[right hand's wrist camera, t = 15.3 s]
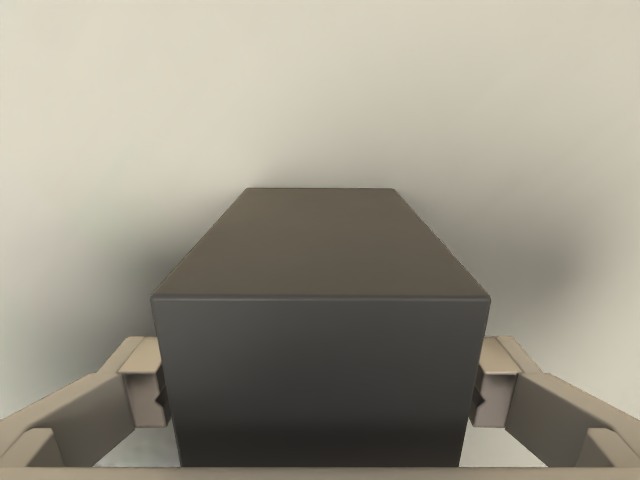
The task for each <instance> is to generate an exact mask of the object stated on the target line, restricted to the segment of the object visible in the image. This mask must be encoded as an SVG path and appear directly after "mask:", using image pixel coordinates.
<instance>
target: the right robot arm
mask: <svg viewBox="0 0 640 480" xmlns="http://www.w3.org/2000/svg"><path fill="white" fill-rule="evenodd" d="M171 417H172V416H171V411H170V405H169V400H168V394H167V389H166V383H165V378H164V372H163V367H162V362H161V356H160V351H159V345H158V340H157V337H156V336H147V337H146V336H130V337H127V338H126V339H125V340H124V341H123V342H122V343H121V345H120V346H119V347H118V348H117V349H116V350H115V352H114V353H113V354H112V355H111V356H110V357H109V359H108V360H107V361H106V362H105V363H104V365H103V366H102V367H101V368H100V369H99V370H98V372H97V373H90V374H88V375H86V376H84V377H82V378H81V379H79V380H77V381H75V382H73V383H71V384H69V385H67V386H65V387H63V388H61V389H60V390H58V391H56V392H54V393H52V394H50V395H48V396H46V397H44V398H42V399H40V400H39V401H37V402H35V403H33V404H31V405H29V406H27V407H25V408H23V409H21V410H19V411H18V412H16V413H14V414H12V415H10V416H8V417H6V418H4V419H2V420H0V480H640V421H639V420H637V419H636V418H634V417H632V416H630V415H628V414H626V413H624V412H622V411H620V410H618V409H617V408H615V407H613V406H611V405H609V404H607V403H605V402H603V401H601V400H599V399H597V398H596V397H594V396H592V395H590V394H588V393H586V392H584V391H582V390H580V389H578V388H577V387H575V386H573V385H571V384H569V383H567V382H565V381H563V380H561V379H559V378H557V377H556V376H554V375H552V374H550V373H543V372H542V370H541V369H540V368H539V367H538V366H537V365H536V363H535V362H534V361H533V360H532V359H531V358H530V356H529V355H528V354H527V353H526V352H525V351H524V349H523V348H522V347H521V346H520V345H519V343H518V342H517V341H516V340H515V339H514V338H513V337H511V336H495V337H484V340H483V345H482V350H481V355H480V360H479V365H478V370H477V375H476V380H475V385H474V390H473V395H472V400H471V406H470V411H469V416H468V417H469V419H470V421H471V423H472V425H473V427H492V428H505V430H506V431H507V432H509V433H510V434H511V435H512V436H513V437H514V438H516V439H517V440H518V441H519V442H520V443H521V444H523V445H524V446H525V447H526V448H527V449H528V450H529V451H531V452H532V453H533V454H534V455H535V456H536V457H538V458H539V459H540V460H541V461H542V462H543V463H544V464H546V465H547V466H548V467H92V466H93V465H94V464H96V463H97V462H98V461H99V460H100V459H101V458H103V457H104V456H105V455H106V454H107V453H108V452H109V451H111V450H112V449H113V448H114V447H115V446H116V445H118V444H119V443H120V442H121V441H122V440H123V439H125V438H126V437H127V436H128V435H129V434H130V433H131V432H133V431H134V430H135V428H147V427H167V425H168V423H169V421H170V419H171Z"/></svg>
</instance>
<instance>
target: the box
mask: <svg viewBox="0 0 640 480" xmlns="http://www.w3.org/2000/svg"><path fill="white" fill-rule="evenodd" d="M150 302H151V307H152V313H153V318H154V324H155V329H156V334H157V340H158V345H159V351H160V356H161V362H162V367H163V372H164V378H165V383H166V389H167V394H168V400H169V405H170V411H171V416H172V421H173V427H174V432H175V438H176V443H177V449H178V454H179V459H180V465H181V467H458V466H459V461H460V456H461V451H462V446H463V441H464V436H465V431H466V426H467V421H468V416H469V411H470V406H471V400H472V395H473V390H474V385H475V380H476V375H477V370H478V365H479V360H480V355H481V350H482V345H483V340H484V334H485V329H486V324H487V319H488V314H489V309H490V304H491V298H490V296H489V295H488V293H487V292H486V291H485V290H484V289H483V288H482V287H481V286H480V284H479V283H478V282H477V281H476V280H475V279H474V278H473V277H472V276H471V274H470V273H469V272H468V271H467V270H466V269H465V268H464V267H463V266H462V264H461V263H460V262H459V261H458V260H457V259H456V258H455V257H454V256H453V254H452V253H451V252H450V251H449V250H448V249H447V248H446V247H445V246H444V244H443V243H442V242H441V241H440V240H439V239H438V238H437V237H436V235H435V234H434V233H433V232H432V231H431V230H430V229H429V228H428V227H427V225H426V224H425V223H424V222H423V221H422V220H421V219H420V218H419V217H418V215H417V214H416V213H415V212H414V211H413V210H412V209H411V208H410V207H409V205H408V204H407V203H406V202H405V201H404V200H403V199H402V198H401V197H400V195H399V194H398V193H397V192H396V191H395V190H394V189H334V188H247V189H246V190H245V191H244V192H243V193H242V194H241V195H240V196H239V197H238V199H237V200H236V201H235V202H234V203H233V204H232V205H231V206H230V208H229V209H228V210H227V211H226V212H225V213H224V214H223V215H222V216H221V218H220V219H219V220H218V221H217V222H216V223H215V224H214V225H213V226H212V228H211V229H210V230H209V231H208V232H207V233H206V234H205V235H204V236H203V238H202V239H201V240H200V241H199V242H198V243H197V244H196V245H195V246H194V248H193V249H192V250H191V251H190V252H189V253H188V254H187V255H186V257H185V258H184V259H183V260H182V261H181V262H180V263H179V264H178V265H177V267H176V268H175V269H174V270H173V271H172V272H171V273H170V274H169V275H168V277H167V278H166V279H165V280H164V281H163V282H162V283H161V284H160V285H159V287H158V288H157V289H156V290H155V291H154V292H153V293H152V294H151V297H150Z"/></svg>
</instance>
